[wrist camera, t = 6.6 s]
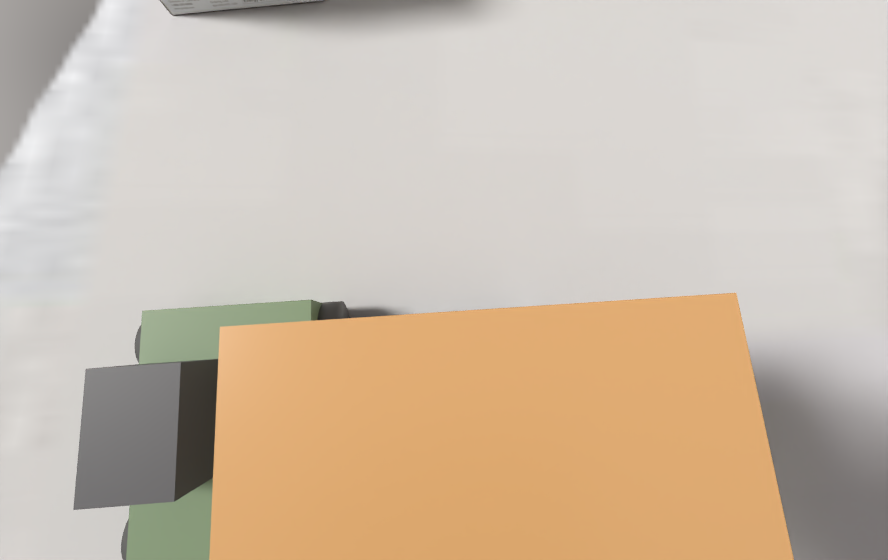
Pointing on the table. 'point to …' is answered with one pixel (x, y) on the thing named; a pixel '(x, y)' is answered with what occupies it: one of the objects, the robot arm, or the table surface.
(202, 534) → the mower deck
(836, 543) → the table surface
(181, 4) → the light bulb box
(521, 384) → the tan rectangular block
